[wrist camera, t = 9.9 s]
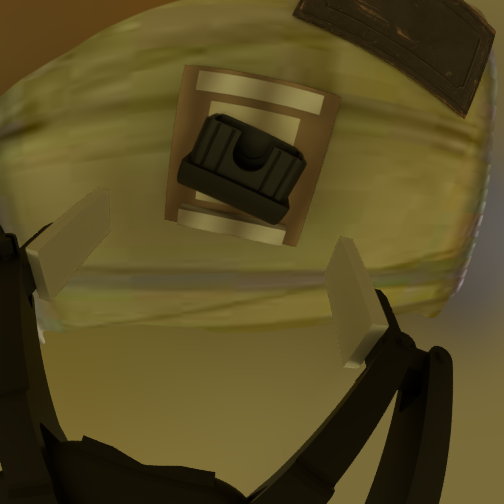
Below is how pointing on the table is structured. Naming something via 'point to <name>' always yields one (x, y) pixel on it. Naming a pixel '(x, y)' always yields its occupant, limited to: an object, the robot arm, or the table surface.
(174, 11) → the table surface
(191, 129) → the display riser
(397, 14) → the hardcover book
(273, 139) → the black notched block
